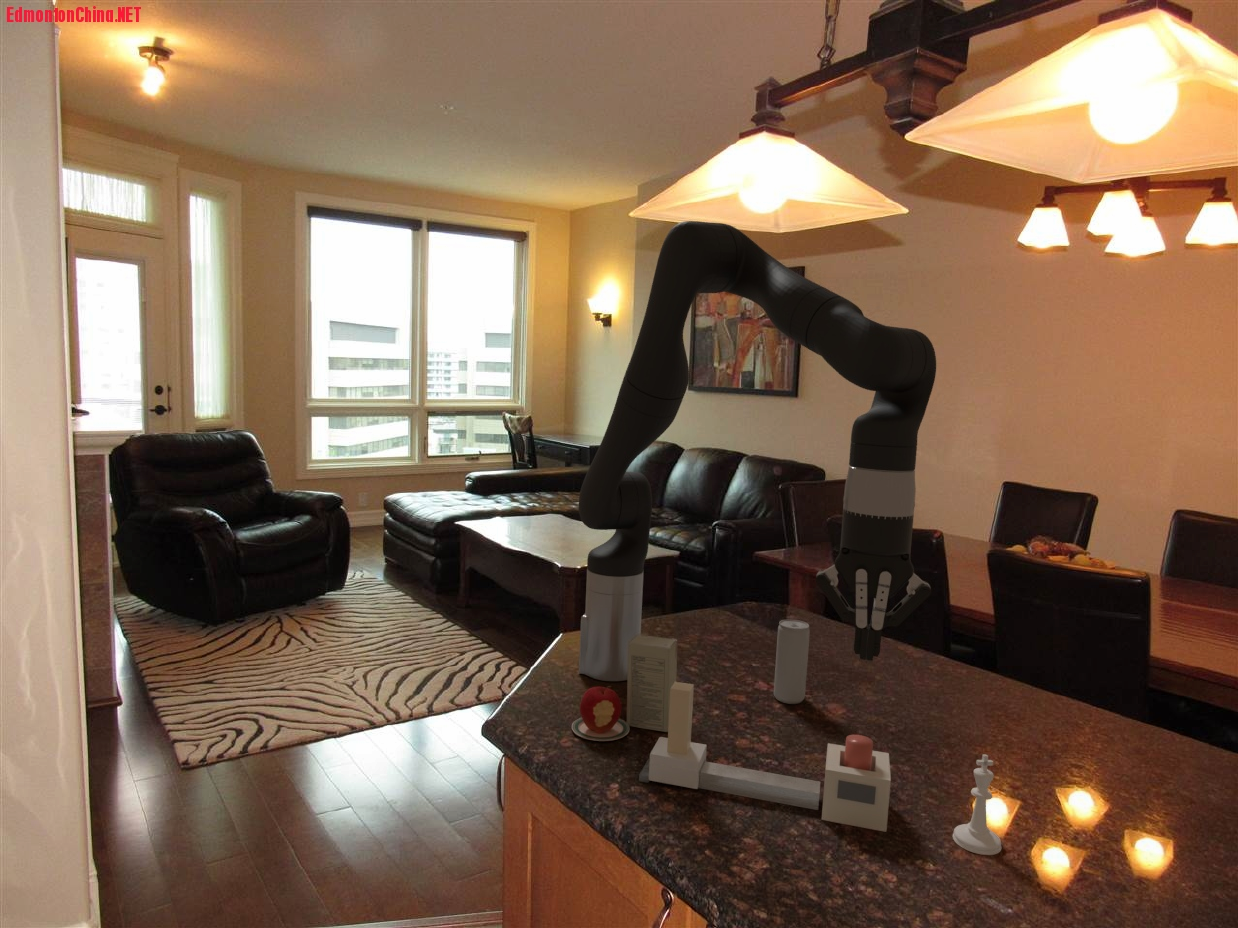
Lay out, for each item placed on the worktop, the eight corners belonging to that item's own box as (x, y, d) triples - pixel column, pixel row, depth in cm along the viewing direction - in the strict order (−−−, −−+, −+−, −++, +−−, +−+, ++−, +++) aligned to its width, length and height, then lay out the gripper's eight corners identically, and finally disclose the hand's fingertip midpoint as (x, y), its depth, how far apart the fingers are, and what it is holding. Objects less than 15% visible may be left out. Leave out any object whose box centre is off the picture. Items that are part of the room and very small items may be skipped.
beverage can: (802, 694, 130) (808, 620, 129) (806, 706, 125) (812, 629, 124) (771, 691, 131) (776, 618, 129) (774, 703, 126) (779, 627, 124)
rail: (638, 780, 100) (639, 765, 100) (649, 762, 105) (649, 747, 105) (817, 814, 94) (818, 797, 94) (819, 793, 99) (820, 777, 99)
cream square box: (821, 820, 93) (825, 770, 92) (824, 790, 100) (827, 743, 99) (886, 832, 91) (890, 781, 90) (884, 801, 98) (888, 753, 97)
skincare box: (675, 721, 118) (680, 638, 116) (667, 733, 114) (672, 648, 112) (633, 713, 120) (637, 632, 118) (623, 725, 116) (627, 641, 114)
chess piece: (944, 829, 92) (952, 744, 91) (986, 829, 93) (994, 744, 92) (966, 855, 88) (975, 766, 86) (1010, 855, 88) (1019, 766, 87)
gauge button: (842, 785, 94) (845, 743, 94) (843, 773, 97) (846, 732, 97) (869, 789, 93) (873, 748, 93) (869, 777, 96) (872, 737, 96)
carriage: (648, 779, 100) (653, 690, 98) (658, 761, 105) (663, 675, 103) (697, 788, 98) (702, 698, 97) (705, 769, 103) (710, 682, 102)
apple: (641, 732, 114) (643, 686, 113) (600, 749, 108) (603, 702, 107) (599, 713, 119) (601, 670, 119) (559, 729, 114) (561, 684, 113)
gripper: (815, 507, 90) (804, 661, 92) (944, 518, 86) (930, 678, 88) (819, 498, 97) (808, 640, 99) (938, 508, 93) (925, 655, 95)
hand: (866, 658), depth 94 cm, fingers closed
